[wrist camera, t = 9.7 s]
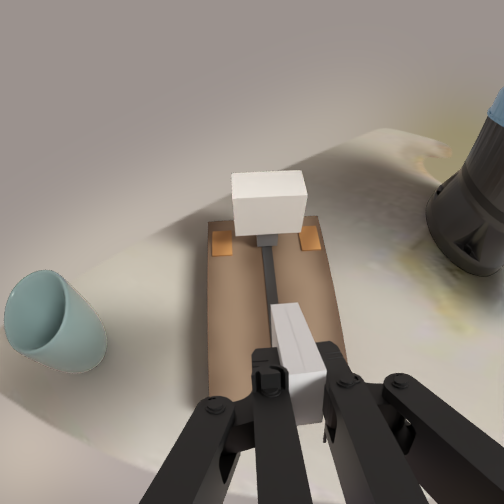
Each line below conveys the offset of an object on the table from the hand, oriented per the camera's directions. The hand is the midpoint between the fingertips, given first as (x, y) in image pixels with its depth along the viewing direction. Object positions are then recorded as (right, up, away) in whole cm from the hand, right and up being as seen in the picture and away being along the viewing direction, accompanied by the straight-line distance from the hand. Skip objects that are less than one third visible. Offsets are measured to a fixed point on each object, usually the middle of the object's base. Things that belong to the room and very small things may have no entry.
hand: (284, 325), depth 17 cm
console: (0, -2, +14) cm, 14 cm away
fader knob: (0, +5, +15) cm, 16 cm away
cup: (-20, -6, +12) cm, 24 cm away
